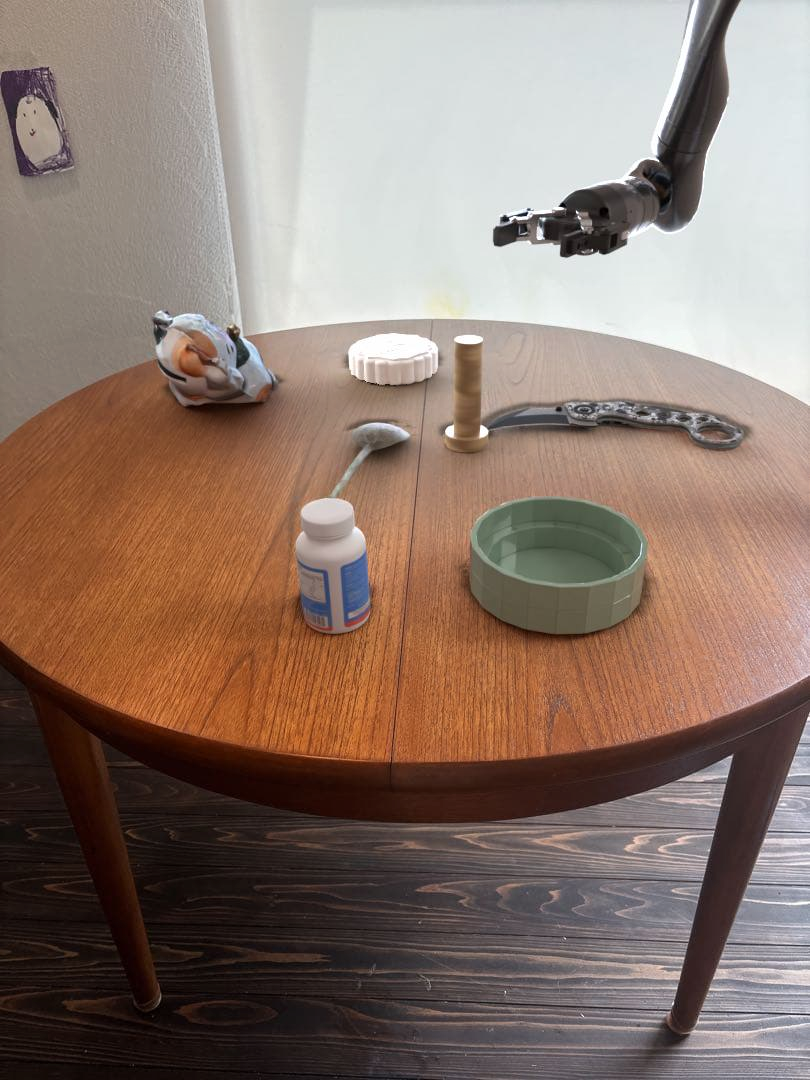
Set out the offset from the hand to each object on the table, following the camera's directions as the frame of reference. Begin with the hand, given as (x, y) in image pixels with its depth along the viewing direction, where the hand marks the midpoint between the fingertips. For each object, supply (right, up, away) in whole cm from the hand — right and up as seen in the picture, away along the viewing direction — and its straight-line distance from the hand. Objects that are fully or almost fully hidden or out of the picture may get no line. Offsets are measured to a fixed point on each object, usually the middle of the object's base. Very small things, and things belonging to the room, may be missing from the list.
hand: (528, 242), depth 94 cm
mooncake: (-15, -10, +23) cm, 29 cm away
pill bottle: (-19, -39, -24) cm, 50 cm away
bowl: (-1, -37, -22) cm, 43 cm away
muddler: (-7, -22, +3) cm, 23 cm away
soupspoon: (-18, -26, -3) cm, 32 cm away
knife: (+10, -20, +6) cm, 23 cm away
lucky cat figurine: (-37, -15, +16) cm, 43 cm away
